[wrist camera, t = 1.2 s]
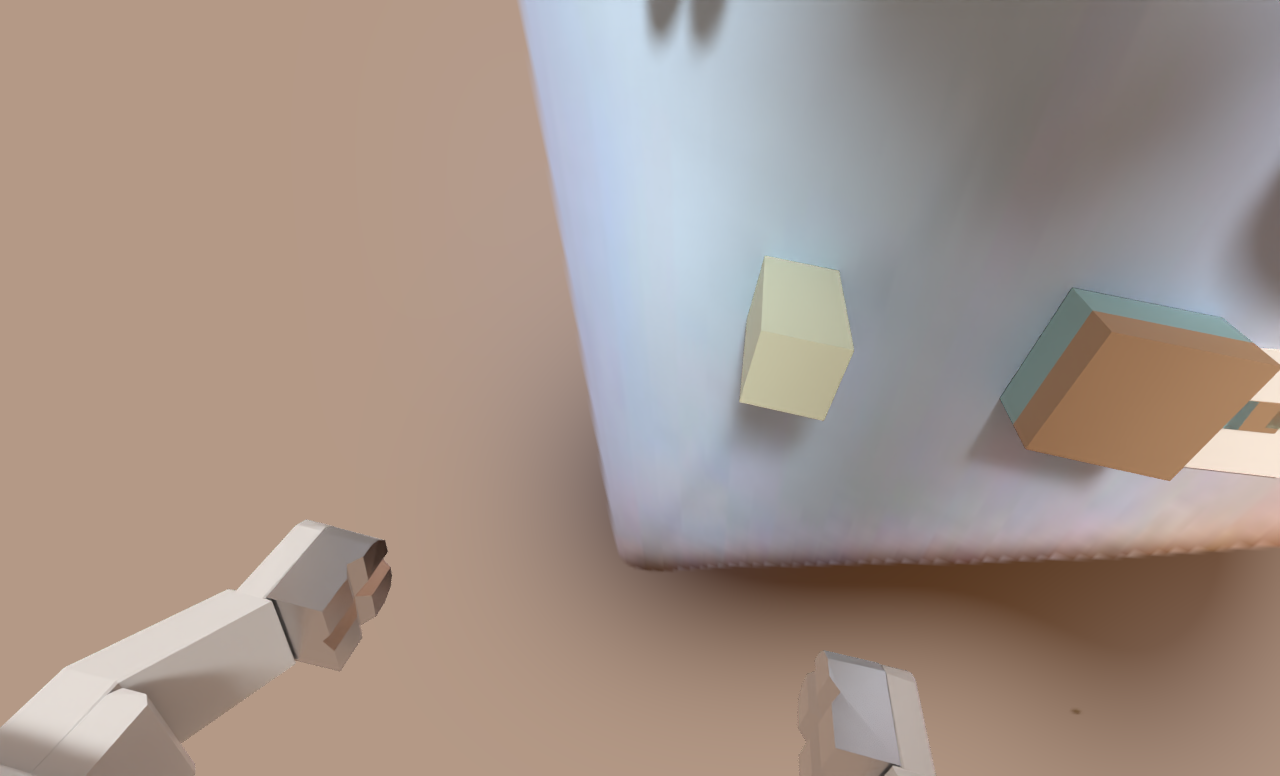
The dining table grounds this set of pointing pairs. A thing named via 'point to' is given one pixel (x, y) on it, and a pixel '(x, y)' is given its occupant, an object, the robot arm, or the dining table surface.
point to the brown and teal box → (1132, 383)
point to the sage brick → (795, 339)
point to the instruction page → (1248, 435)
